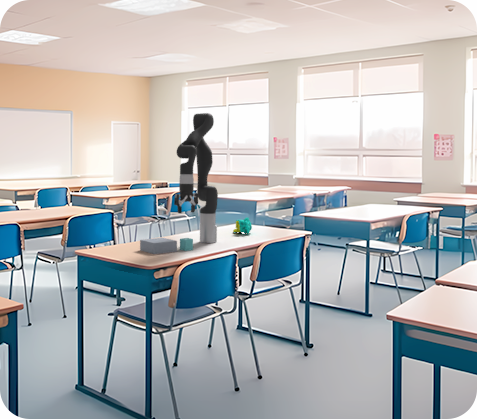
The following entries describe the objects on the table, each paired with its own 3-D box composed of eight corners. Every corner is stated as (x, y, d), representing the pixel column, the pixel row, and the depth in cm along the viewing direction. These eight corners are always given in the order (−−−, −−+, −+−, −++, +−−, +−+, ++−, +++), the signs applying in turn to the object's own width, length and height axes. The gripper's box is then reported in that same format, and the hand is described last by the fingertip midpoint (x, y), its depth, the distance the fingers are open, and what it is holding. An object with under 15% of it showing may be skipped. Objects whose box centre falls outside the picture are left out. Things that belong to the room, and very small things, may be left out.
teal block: (187, 248, 294) (187, 237, 293) (192, 250, 290) (192, 239, 290) (179, 249, 290) (179, 238, 290) (185, 250, 287) (185, 239, 286)
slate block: (162, 248, 295) (162, 237, 295) (176, 252, 285) (176, 240, 284) (140, 250, 286) (140, 239, 285) (154, 254, 276) (154, 243, 275)
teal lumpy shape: (225, 222, 356) (239, 213, 364) (234, 238, 359) (247, 228, 366) (239, 221, 344) (252, 210, 352) (247, 236, 347) (260, 226, 354)
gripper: (192, 182, 294) (192, 211, 296) (171, 182, 285) (171, 213, 287) (201, 182, 289) (201, 212, 290) (179, 183, 279) (179, 214, 281)
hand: (186, 212), depth 288 cm, fingers open, 8 cm apart
